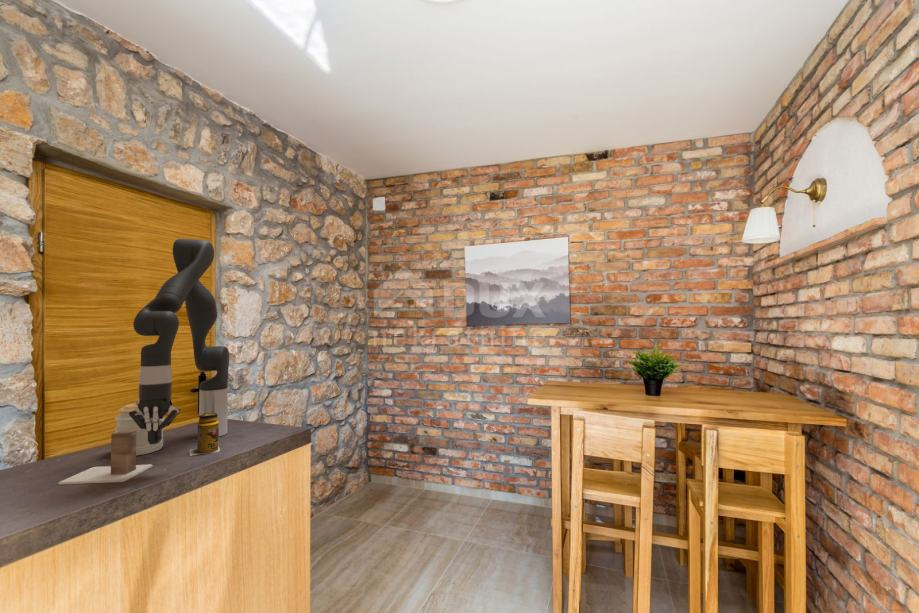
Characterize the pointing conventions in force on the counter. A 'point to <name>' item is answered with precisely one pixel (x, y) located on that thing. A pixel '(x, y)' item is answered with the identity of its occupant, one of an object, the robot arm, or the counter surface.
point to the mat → (102, 475)
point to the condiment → (207, 435)
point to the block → (123, 452)
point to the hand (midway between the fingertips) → (154, 443)
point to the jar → (142, 434)
